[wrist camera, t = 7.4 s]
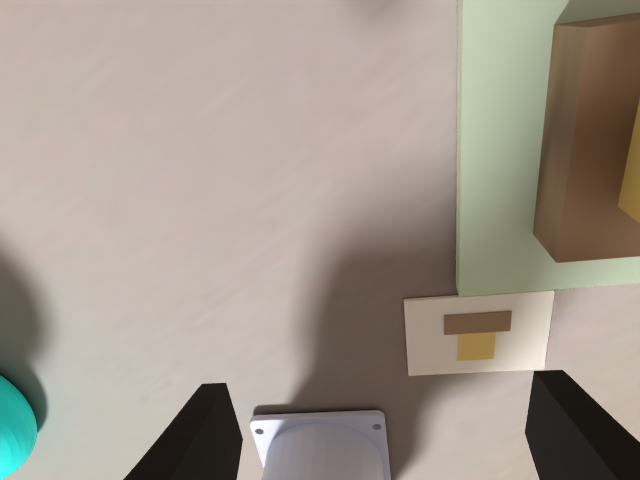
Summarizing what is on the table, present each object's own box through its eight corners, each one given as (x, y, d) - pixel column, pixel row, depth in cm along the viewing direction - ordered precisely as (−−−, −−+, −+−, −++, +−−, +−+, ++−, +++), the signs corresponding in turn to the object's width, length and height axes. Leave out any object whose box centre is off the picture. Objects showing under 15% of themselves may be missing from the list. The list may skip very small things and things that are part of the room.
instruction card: (542, 366, 23) (544, 370, 22) (408, 373, 24) (408, 377, 23) (553, 288, 20) (555, 291, 20) (403, 299, 21) (404, 302, 21)
